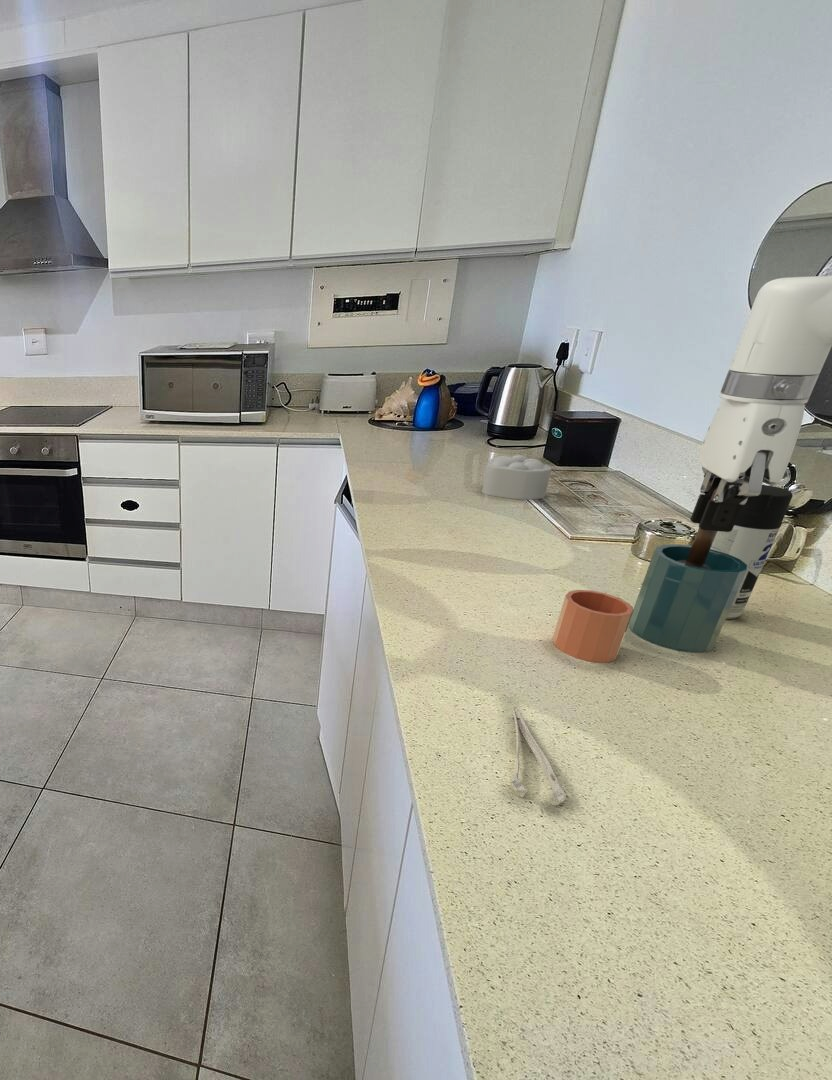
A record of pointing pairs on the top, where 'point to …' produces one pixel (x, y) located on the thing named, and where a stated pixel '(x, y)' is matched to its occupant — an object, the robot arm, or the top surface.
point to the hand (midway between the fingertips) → (710, 525)
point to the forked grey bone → (519, 789)
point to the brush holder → (592, 625)
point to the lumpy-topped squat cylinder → (516, 478)
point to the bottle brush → (701, 546)
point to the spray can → (753, 538)
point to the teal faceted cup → (686, 599)
